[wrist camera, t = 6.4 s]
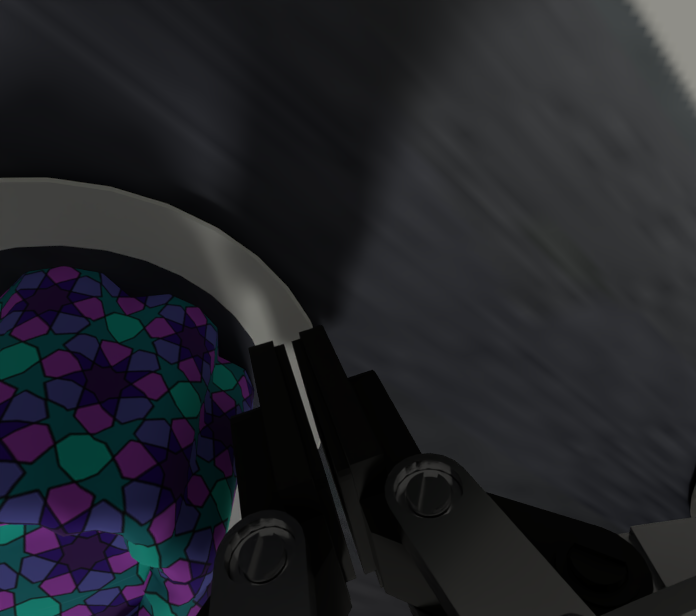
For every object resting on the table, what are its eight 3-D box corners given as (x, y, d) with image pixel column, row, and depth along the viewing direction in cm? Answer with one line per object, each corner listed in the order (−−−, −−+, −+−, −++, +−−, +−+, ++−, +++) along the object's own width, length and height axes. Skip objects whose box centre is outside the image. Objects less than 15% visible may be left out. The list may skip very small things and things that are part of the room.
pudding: (331, 515, 17) (384, 690, 12) (-85, 622, 14) (-215, 899, 9) (307, 142, 11) (391, 217, 6) (-423, 202, 8) (-1190, 410, 4)
